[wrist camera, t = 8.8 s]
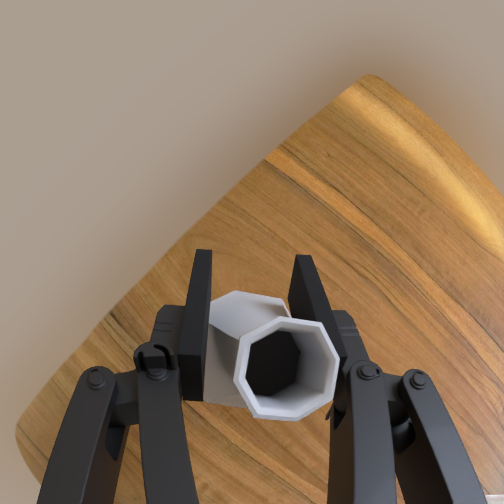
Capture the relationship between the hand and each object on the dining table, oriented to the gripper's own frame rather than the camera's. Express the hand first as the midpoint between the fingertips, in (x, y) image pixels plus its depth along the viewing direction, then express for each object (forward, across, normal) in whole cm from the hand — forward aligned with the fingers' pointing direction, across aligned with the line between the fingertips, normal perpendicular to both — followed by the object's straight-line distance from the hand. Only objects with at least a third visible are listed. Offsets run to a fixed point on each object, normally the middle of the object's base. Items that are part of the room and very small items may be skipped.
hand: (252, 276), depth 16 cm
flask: (0, 0, -5) cm, 5 cm away
